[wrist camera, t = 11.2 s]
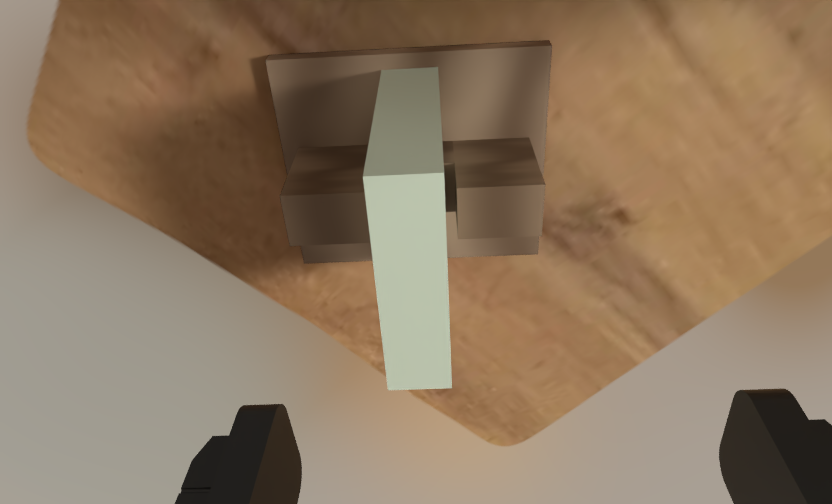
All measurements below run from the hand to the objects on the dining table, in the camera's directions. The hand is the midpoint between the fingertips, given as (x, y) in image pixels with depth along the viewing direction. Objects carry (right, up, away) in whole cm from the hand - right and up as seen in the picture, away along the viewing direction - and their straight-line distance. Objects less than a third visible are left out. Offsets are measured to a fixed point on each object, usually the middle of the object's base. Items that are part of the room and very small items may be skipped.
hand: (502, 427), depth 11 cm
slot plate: (-2, +9, +28) cm, 30 cm away
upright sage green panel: (-2, +9, +27) cm, 29 cm away
